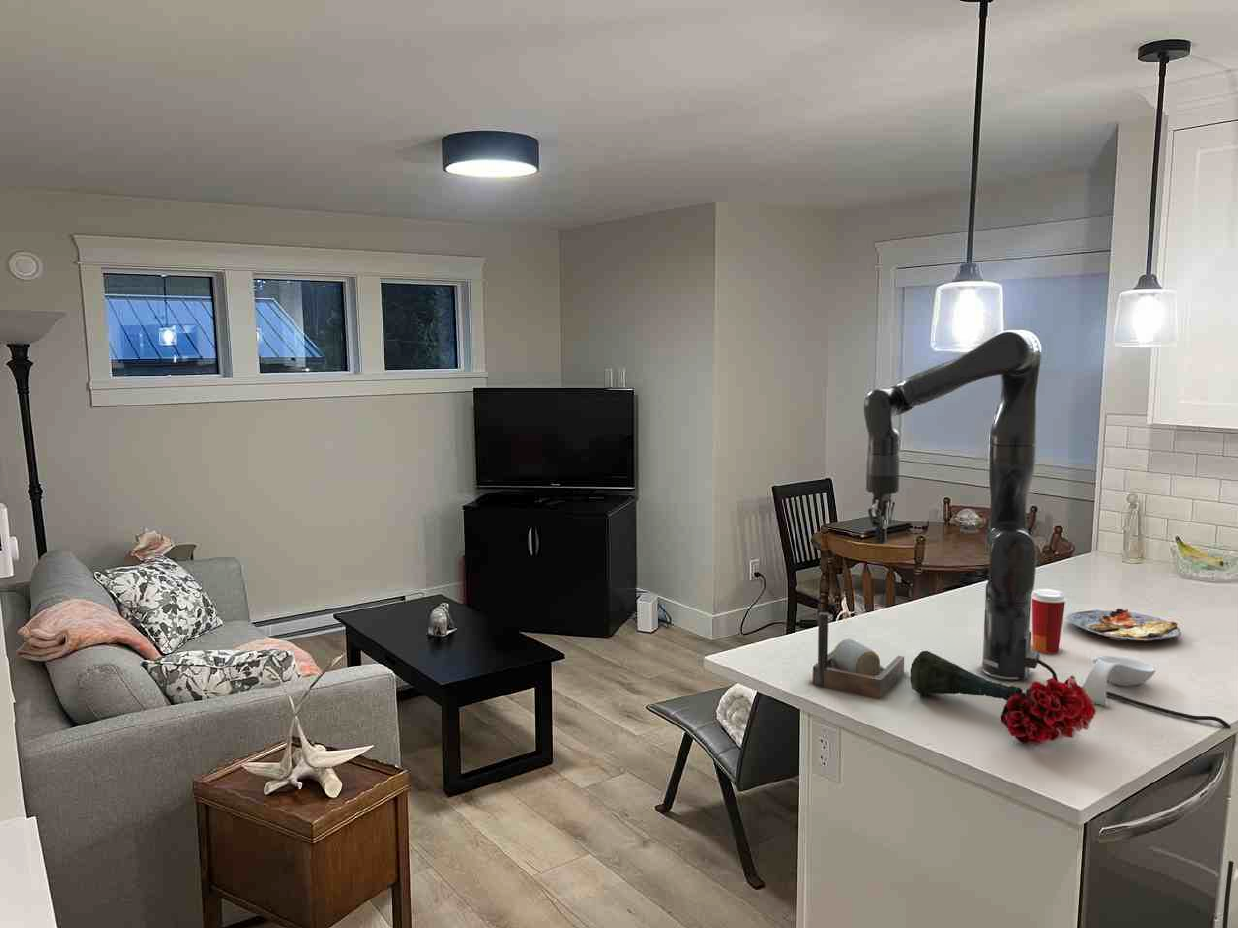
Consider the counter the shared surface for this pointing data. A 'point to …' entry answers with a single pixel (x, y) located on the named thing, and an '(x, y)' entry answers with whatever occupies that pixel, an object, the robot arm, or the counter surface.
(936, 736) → the counter surface
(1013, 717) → the carnation
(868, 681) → the wooden post tray
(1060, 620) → the paper cup
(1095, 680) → the spoon rest
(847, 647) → the ceramic mug
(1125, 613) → the food plate
